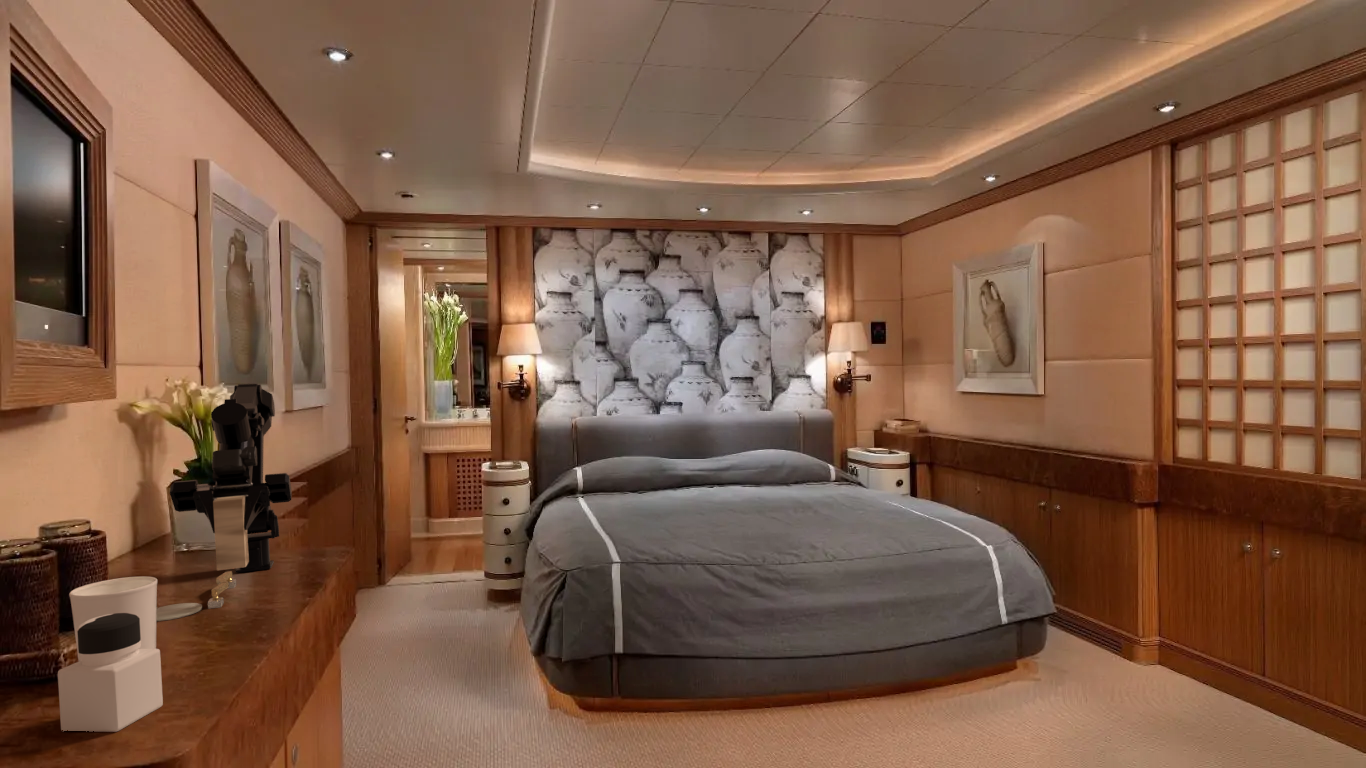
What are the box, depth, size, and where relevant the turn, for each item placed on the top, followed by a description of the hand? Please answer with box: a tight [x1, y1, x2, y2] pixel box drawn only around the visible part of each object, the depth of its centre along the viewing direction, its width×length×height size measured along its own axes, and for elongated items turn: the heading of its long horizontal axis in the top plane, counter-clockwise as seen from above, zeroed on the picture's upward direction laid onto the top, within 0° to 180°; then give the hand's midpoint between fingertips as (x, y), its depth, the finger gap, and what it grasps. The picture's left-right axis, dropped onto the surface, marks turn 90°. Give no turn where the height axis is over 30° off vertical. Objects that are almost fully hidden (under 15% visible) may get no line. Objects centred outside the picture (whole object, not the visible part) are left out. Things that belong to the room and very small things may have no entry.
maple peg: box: [213, 496, 249, 571], centre depth 140 cm, size 4×4×12 cm
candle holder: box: [68, 576, 158, 662], centre depth 109 cm, size 10×10×12 cm
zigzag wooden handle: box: [207, 570, 237, 610], centre depth 147 cm, size 16×3×3 cm, turn 21°
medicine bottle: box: [57, 613, 164, 733], centre depth 93 cm, size 7×7×12 cm
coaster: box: [156, 602, 203, 622], centre depth 137 cm, size 9×9×1 cm
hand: (229, 530), depth 139 cm, fingers closed on maple peg, 4 cm apart
